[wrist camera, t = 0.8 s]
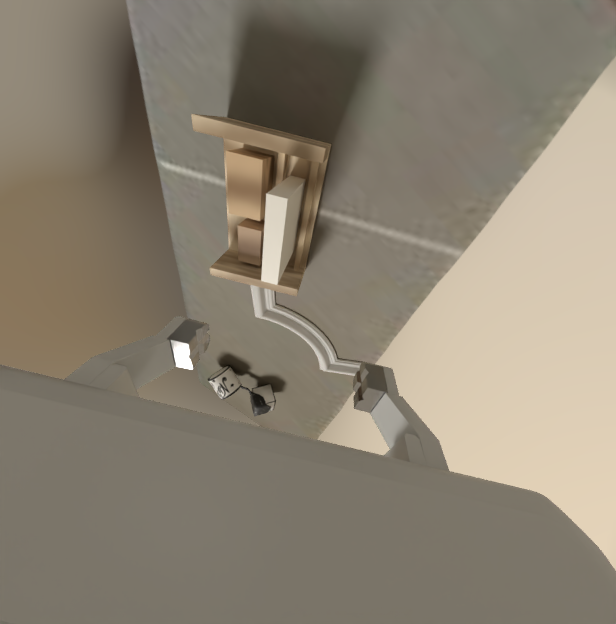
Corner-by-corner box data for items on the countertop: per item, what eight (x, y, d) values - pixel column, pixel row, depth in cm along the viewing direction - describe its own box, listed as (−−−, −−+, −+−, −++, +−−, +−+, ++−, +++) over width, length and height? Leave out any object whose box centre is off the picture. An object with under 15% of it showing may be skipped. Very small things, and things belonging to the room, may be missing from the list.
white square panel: (290, 175, 35) (266, 193, 25) (305, 179, 35) (287, 198, 25) (282, 245, 42) (261, 280, 33) (294, 248, 43) (277, 284, 33)
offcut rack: (227, 117, 32) (191, 113, 25) (331, 144, 33) (325, 148, 25) (232, 252, 47) (210, 274, 40) (304, 270, 47) (296, 296, 40)
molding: (368, 367, 65) (369, 375, 63) (336, 379, 72) (336, 387, 69) (261, 266, 49) (257, 272, 47) (231, 293, 55) (227, 300, 53)
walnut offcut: (248, 216, 40) (237, 225, 36) (269, 221, 40) (261, 231, 36) (248, 249, 44) (238, 260, 40) (267, 254, 44) (259, 265, 40)
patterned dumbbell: (212, 368, 78) (198, 394, 71) (222, 356, 72) (207, 382, 65) (272, 398, 85) (265, 424, 78) (286, 389, 79) (279, 416, 72)
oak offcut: (242, 147, 33) (225, 150, 29) (274, 155, 33) (262, 160, 29) (243, 203, 39) (228, 213, 34) (270, 210, 39) (259, 221, 34)
